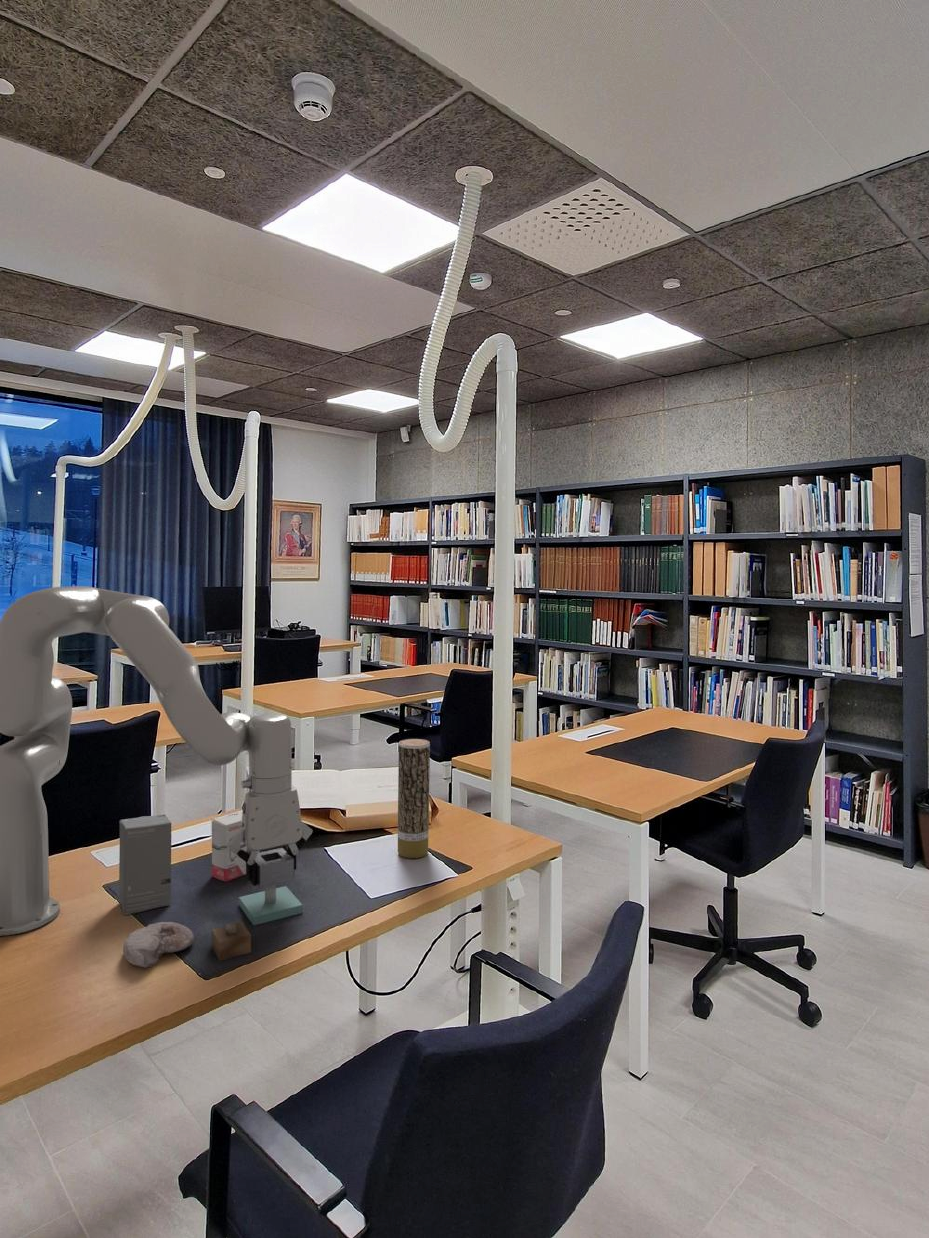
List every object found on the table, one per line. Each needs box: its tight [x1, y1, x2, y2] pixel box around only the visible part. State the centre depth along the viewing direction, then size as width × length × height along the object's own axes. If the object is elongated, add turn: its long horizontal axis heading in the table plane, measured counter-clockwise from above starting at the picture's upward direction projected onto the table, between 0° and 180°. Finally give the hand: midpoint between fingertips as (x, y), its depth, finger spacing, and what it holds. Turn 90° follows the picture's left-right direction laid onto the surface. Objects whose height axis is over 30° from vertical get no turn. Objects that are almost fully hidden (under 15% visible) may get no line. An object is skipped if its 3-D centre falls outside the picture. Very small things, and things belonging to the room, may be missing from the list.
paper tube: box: [397, 738, 431, 859], centre depth 159 cm, size 7×7×25 cm
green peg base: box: [238, 884, 304, 926], centre depth 133 cm, size 9×9×6 cm
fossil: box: [122, 921, 195, 968], centre depth 117 cm, size 12×4×10 cm
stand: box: [211, 921, 252, 962], centre depth 118 cm, size 5×5×4 cm
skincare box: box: [118, 814, 172, 916], centre depth 134 cm, size 8×7×16 cm
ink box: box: [211, 809, 261, 883], centre depth 148 cm, size 9×5×12 cm, turn 143°
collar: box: [255, 847, 295, 889], centre depth 132 cm, size 6×6×4 cm
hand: (271, 877), depth 132 cm, fingers closed on collar, 6 cm apart
